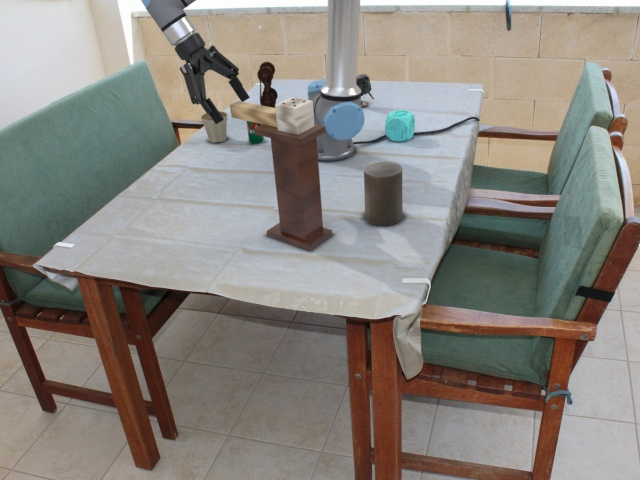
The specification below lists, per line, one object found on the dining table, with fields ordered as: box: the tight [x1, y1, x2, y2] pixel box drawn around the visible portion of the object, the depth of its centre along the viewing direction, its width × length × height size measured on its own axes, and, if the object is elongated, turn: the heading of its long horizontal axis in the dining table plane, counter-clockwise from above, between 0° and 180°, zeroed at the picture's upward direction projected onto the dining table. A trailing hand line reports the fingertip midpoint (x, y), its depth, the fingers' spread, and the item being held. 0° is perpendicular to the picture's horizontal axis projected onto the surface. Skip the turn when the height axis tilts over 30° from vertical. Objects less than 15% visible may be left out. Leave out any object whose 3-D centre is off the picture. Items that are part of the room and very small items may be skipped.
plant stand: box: [254, 124, 333, 252], centre depth 155 cm, size 14×9×28 cm, turn 52°
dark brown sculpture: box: [256, 61, 279, 108], centre depth 233 cm, size 15×15×20 cm
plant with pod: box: [356, 73, 375, 108], centre depth 239 cm, size 8×11×20 cm
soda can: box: [245, 120, 265, 145], centre depth 216 cm, size 5×5×12 cm
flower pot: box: [199, 110, 229, 144], centre depth 221 cm, size 9×9×9 cm
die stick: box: [229, 96, 314, 135], centre depth 149 cm, size 22×6×6 cm, turn 52°
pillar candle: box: [363, 161, 404, 227], centre depth 164 cm, size 10×10×15 cm
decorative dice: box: [384, 109, 416, 142], centre depth 212 cm, size 8×8×8 cm
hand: (233, 110), depth 172 cm, fingers open, 13 cm apart
